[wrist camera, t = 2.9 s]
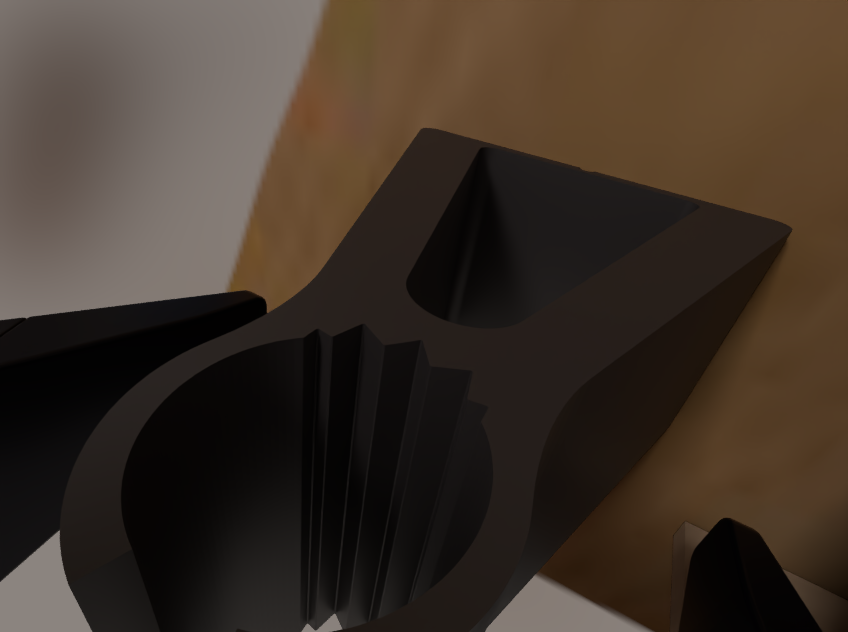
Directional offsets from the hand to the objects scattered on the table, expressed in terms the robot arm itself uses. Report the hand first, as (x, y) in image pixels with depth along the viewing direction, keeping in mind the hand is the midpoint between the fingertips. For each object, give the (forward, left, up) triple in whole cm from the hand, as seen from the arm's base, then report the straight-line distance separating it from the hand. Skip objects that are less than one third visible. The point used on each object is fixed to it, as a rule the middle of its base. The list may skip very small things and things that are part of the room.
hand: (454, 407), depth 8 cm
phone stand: (0, 0, -7) cm, 7 cm away
